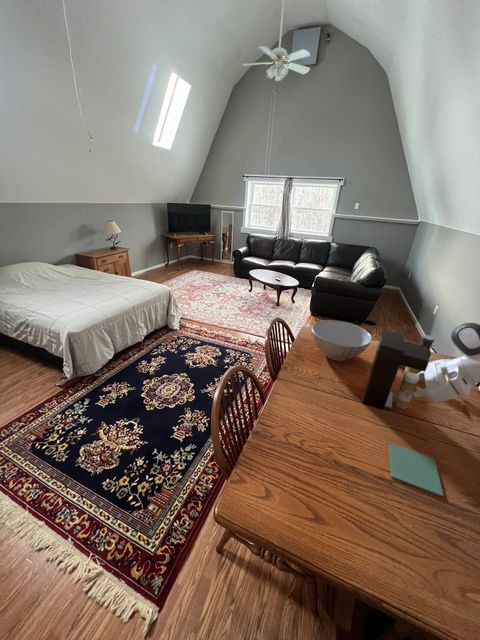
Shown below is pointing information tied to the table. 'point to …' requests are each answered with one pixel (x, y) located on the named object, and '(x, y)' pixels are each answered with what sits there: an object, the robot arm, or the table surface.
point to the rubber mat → (414, 469)
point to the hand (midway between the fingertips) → (413, 386)
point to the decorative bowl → (340, 339)
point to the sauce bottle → (427, 342)
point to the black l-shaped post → (391, 367)
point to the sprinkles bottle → (406, 390)
